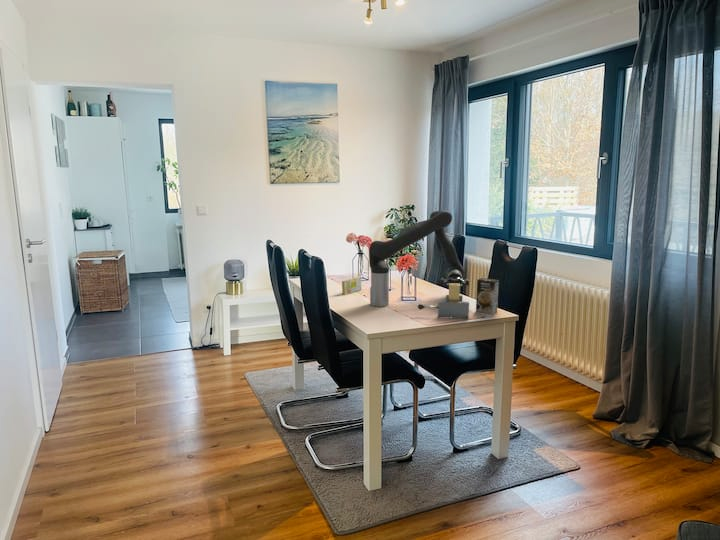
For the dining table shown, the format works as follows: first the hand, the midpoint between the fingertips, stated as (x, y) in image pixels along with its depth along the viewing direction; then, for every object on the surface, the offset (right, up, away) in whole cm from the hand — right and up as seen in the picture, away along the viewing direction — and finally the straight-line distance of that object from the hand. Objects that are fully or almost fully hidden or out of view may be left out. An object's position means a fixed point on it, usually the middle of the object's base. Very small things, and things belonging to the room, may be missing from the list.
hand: (454, 284), depth 268 cm
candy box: (-52, -6, +43) cm, 67 cm away
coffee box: (+15, -14, -2) cm, 21 cm away
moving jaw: (-1, -13, -1) cm, 13 cm away
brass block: (-2, -14, -8) cm, 17 cm away
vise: (-7, -14, -7) cm, 17 cm away
